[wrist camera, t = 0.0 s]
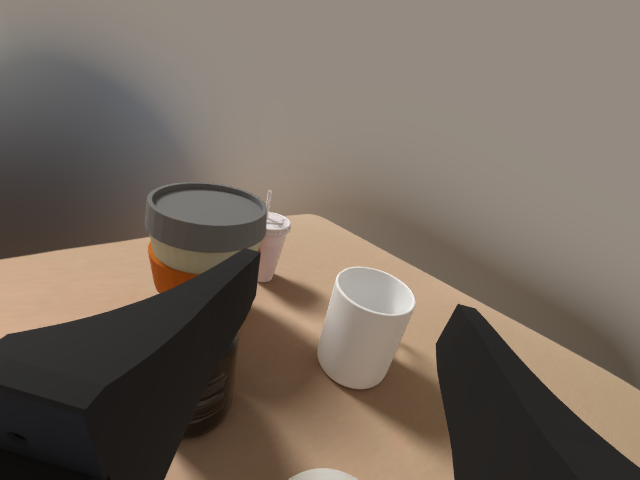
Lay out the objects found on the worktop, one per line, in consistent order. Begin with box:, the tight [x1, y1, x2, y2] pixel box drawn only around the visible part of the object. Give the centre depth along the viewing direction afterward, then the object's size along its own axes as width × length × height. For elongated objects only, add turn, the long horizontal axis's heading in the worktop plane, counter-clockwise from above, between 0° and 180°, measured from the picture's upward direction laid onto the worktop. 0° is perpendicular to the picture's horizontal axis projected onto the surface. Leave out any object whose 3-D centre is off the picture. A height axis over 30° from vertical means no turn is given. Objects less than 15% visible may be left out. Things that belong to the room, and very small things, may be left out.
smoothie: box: [257, 190, 291, 282], centre depth 47 cm, size 6×6×14 cm
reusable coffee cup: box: [145, 182, 267, 293], centre depth 37 cm, size 13×12×15 cm
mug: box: [317, 267, 416, 389], centre depth 37 cm, size 9×12×11 cm
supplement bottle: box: [183, 332, 239, 438], centre depth 27 cm, size 7×7×12 cm
